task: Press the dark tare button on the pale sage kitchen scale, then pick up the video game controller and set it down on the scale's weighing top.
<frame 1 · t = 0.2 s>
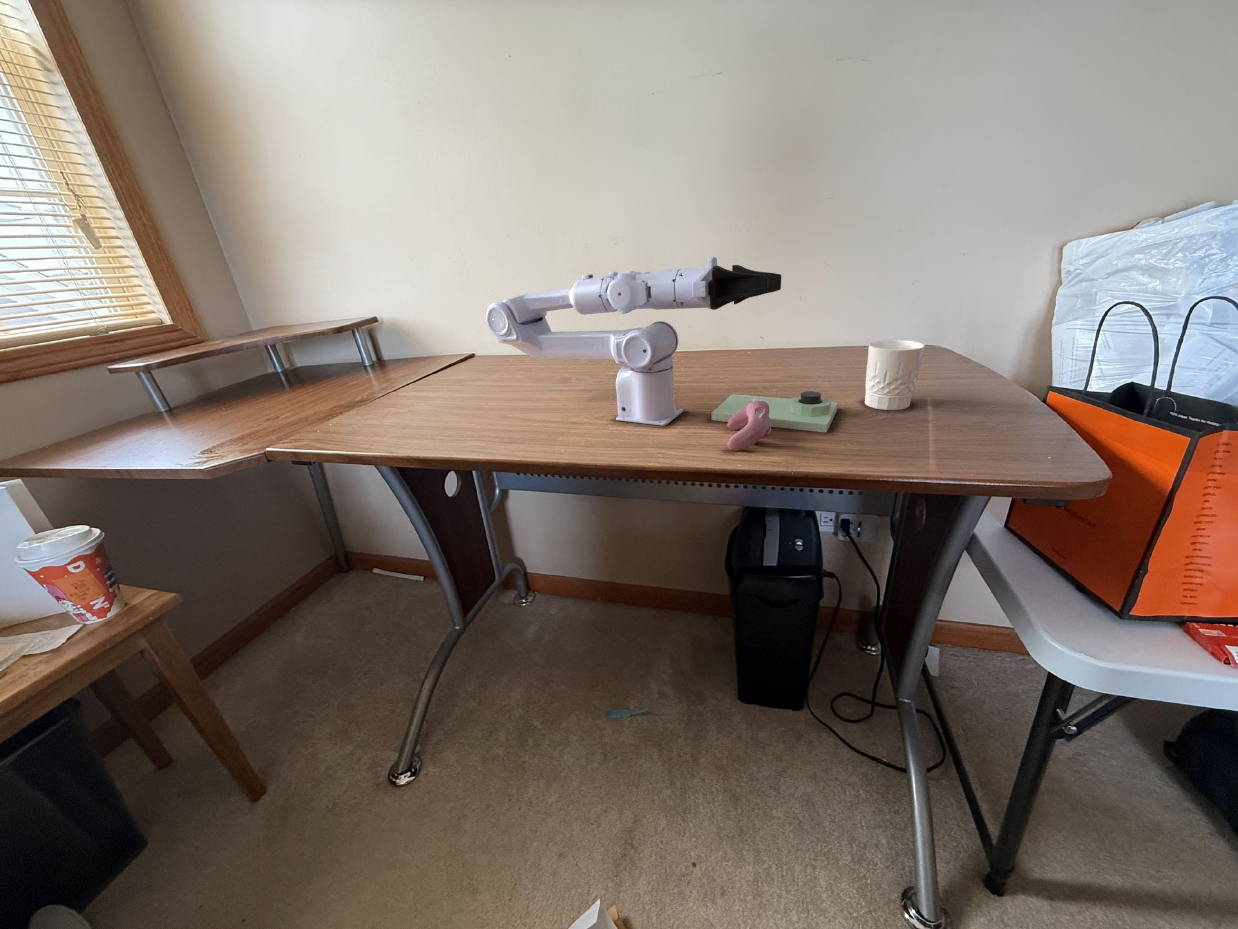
hand: (774, 283, 66), 21 cm above the table, tool horizontal, fingers open, 7 cm apart
scale: (774, 415, 80), on the table
tare button: (810, 398, 76), point 3 cm above the table, slide at 0.1 cm
white cup: (886, 405, 81), on the table
video game controller: (747, 441, 71), on the table
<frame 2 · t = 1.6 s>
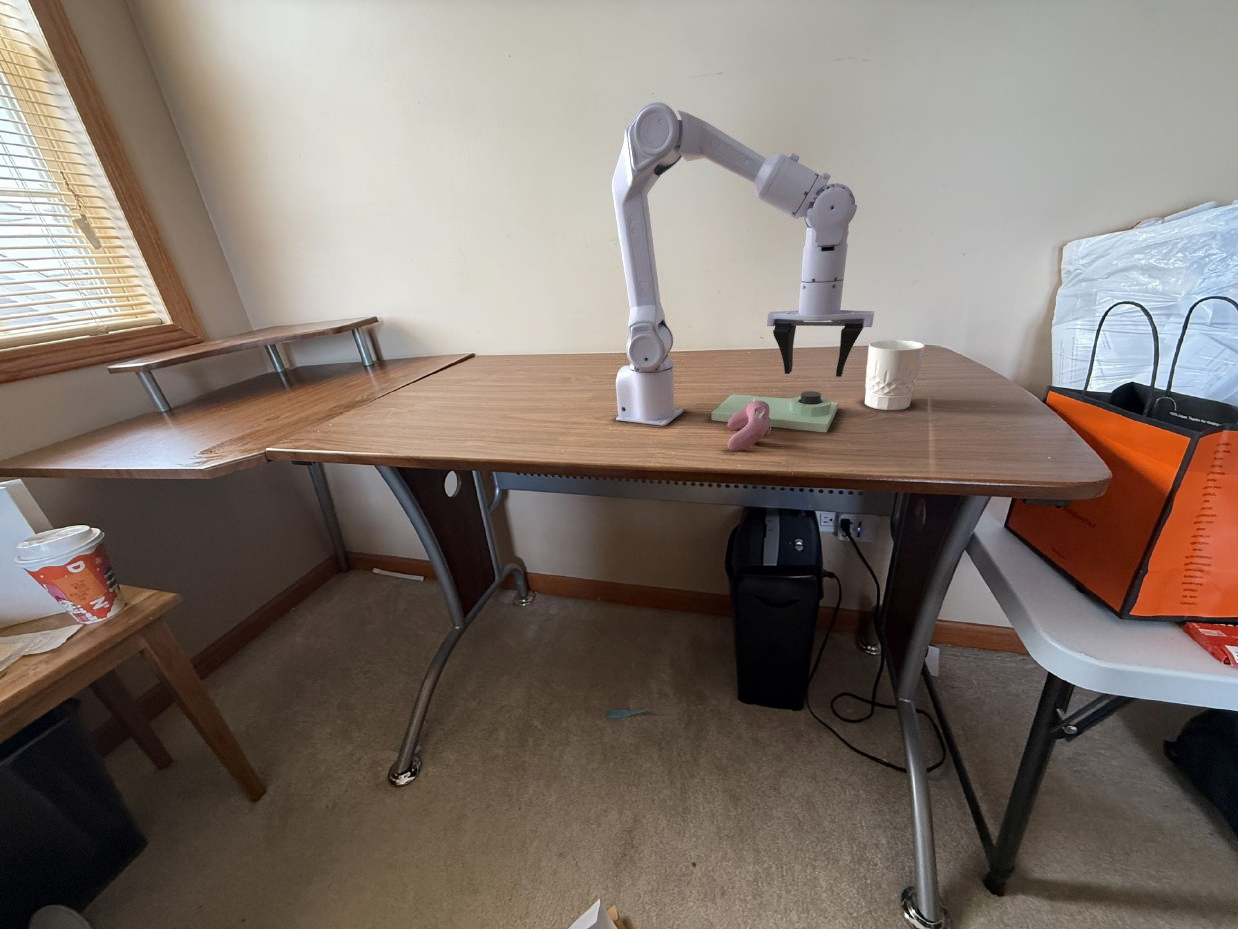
hand: (813, 373, 74), 7 cm above the table, tool pointing down, fingers open, 7 cm apart
nothing on the table moved.
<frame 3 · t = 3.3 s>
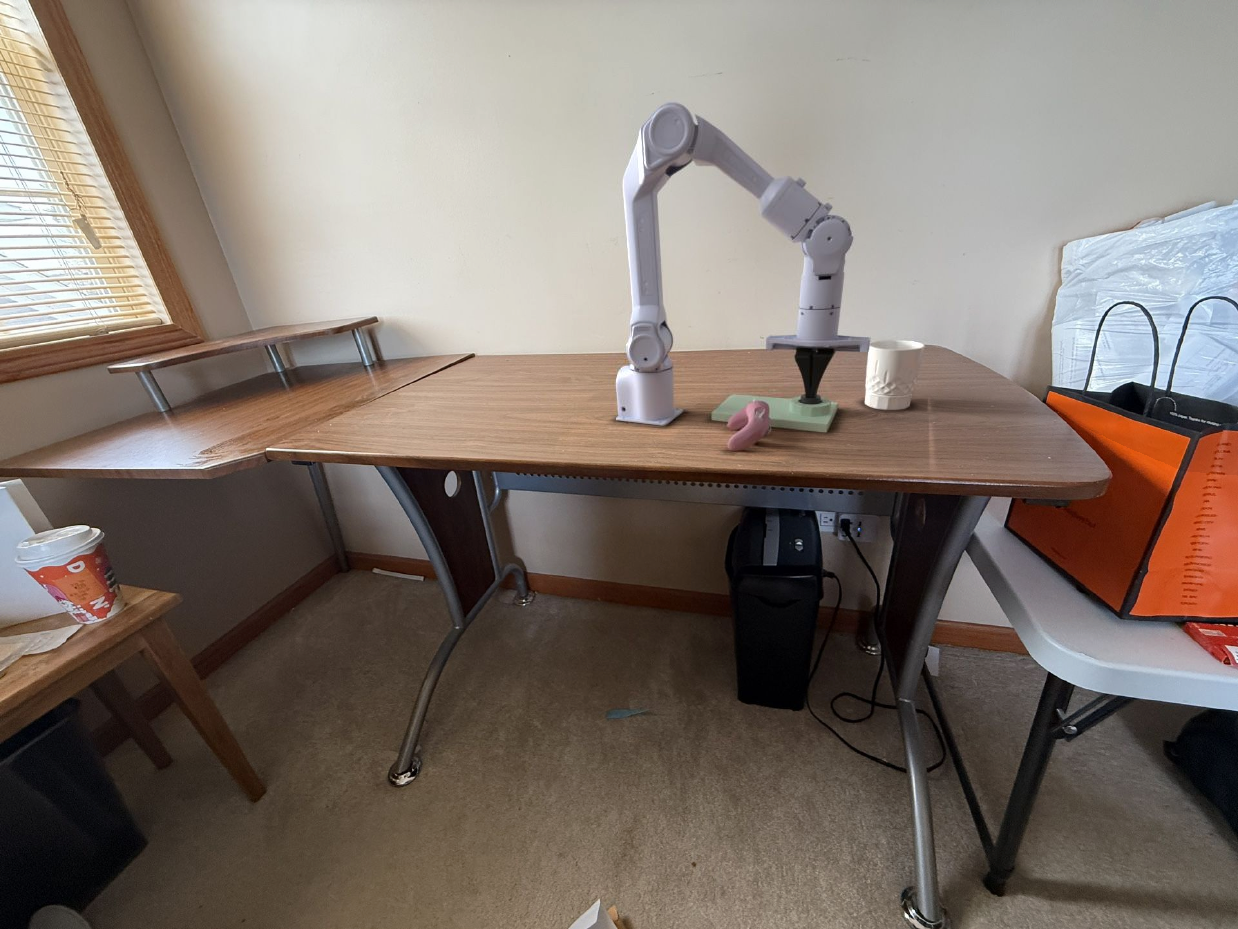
hand: (811, 396, 76), 4 cm above the table, tool pointing down, fingers closed, pressing on tare button
tare button: (810, 400, 76), point 3 cm above the table, slide at -0.3 cm, touching gripper
everything else where it was.
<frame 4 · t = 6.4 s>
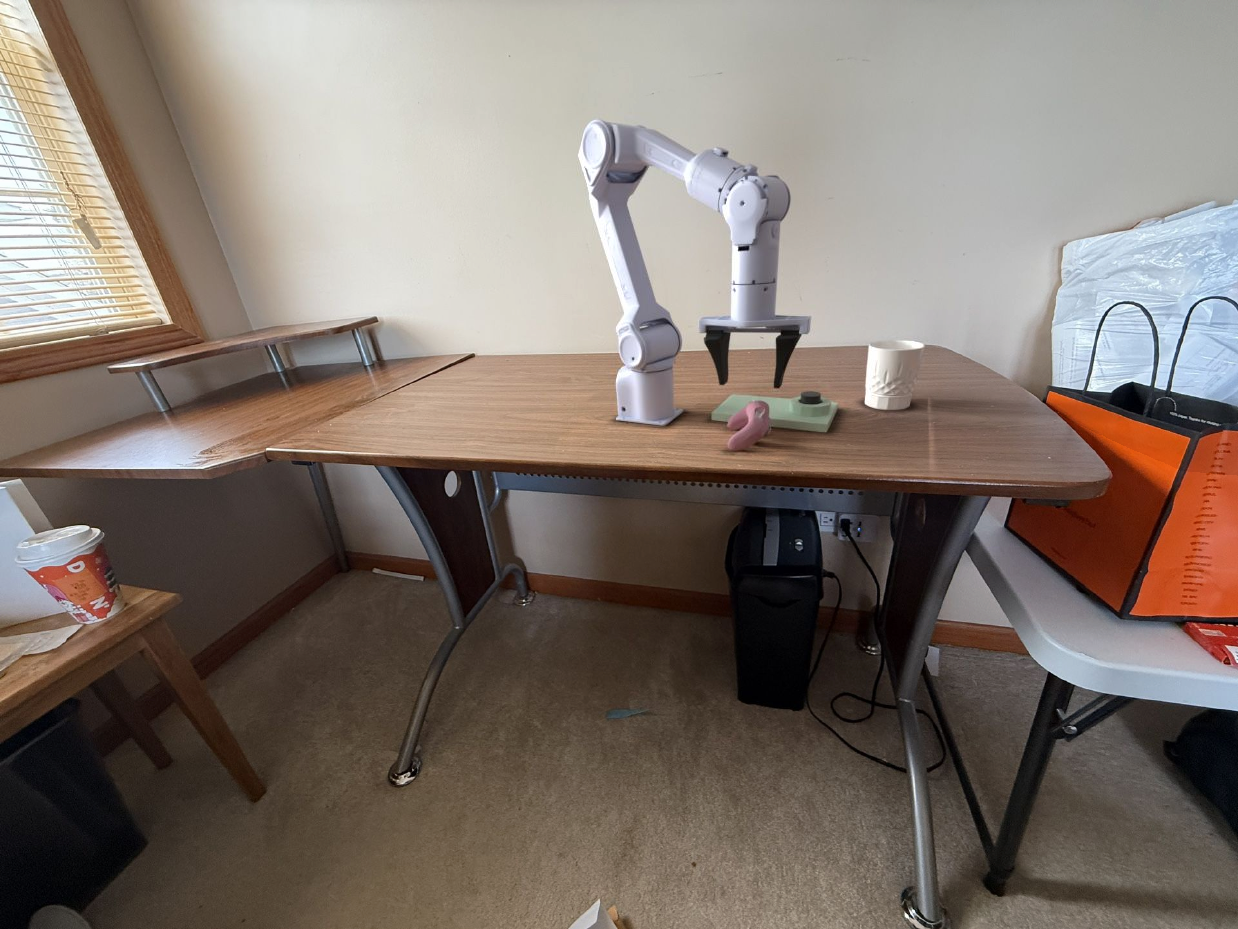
hand: (750, 384, 68), 8 cm above the table, tool pointing down, fingers open, 7 cm apart
tare button: (810, 398, 76), point 3 cm above the table, slide at 0.1 cm
everything else where it was.
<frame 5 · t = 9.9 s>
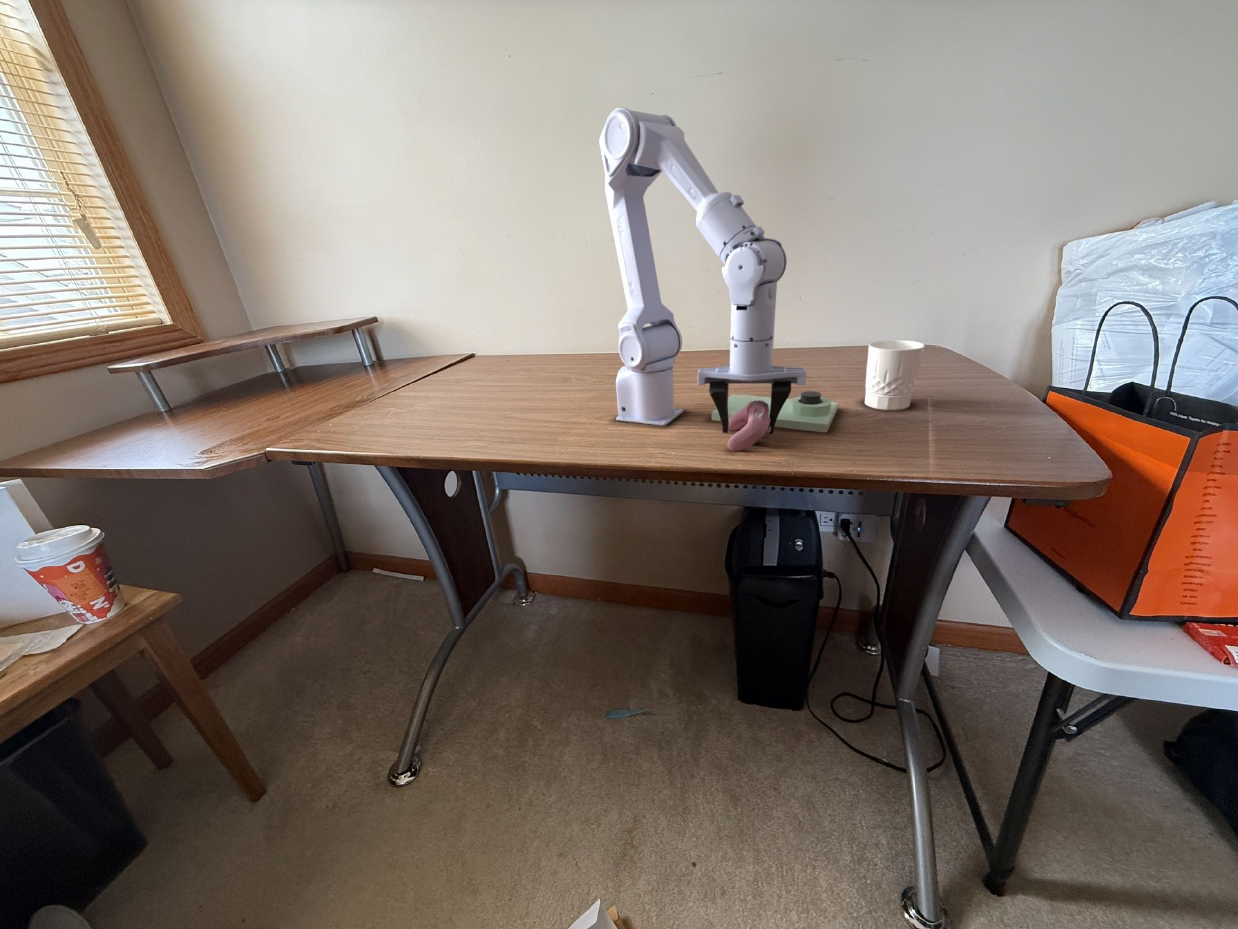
hand: (748, 431, 70), 1 cm above the table, tool pointing down, fingers closed on video game controller, 6 cm apart
video game controller: (747, 441, 71), on the table, touching gripper
everything else where it was.
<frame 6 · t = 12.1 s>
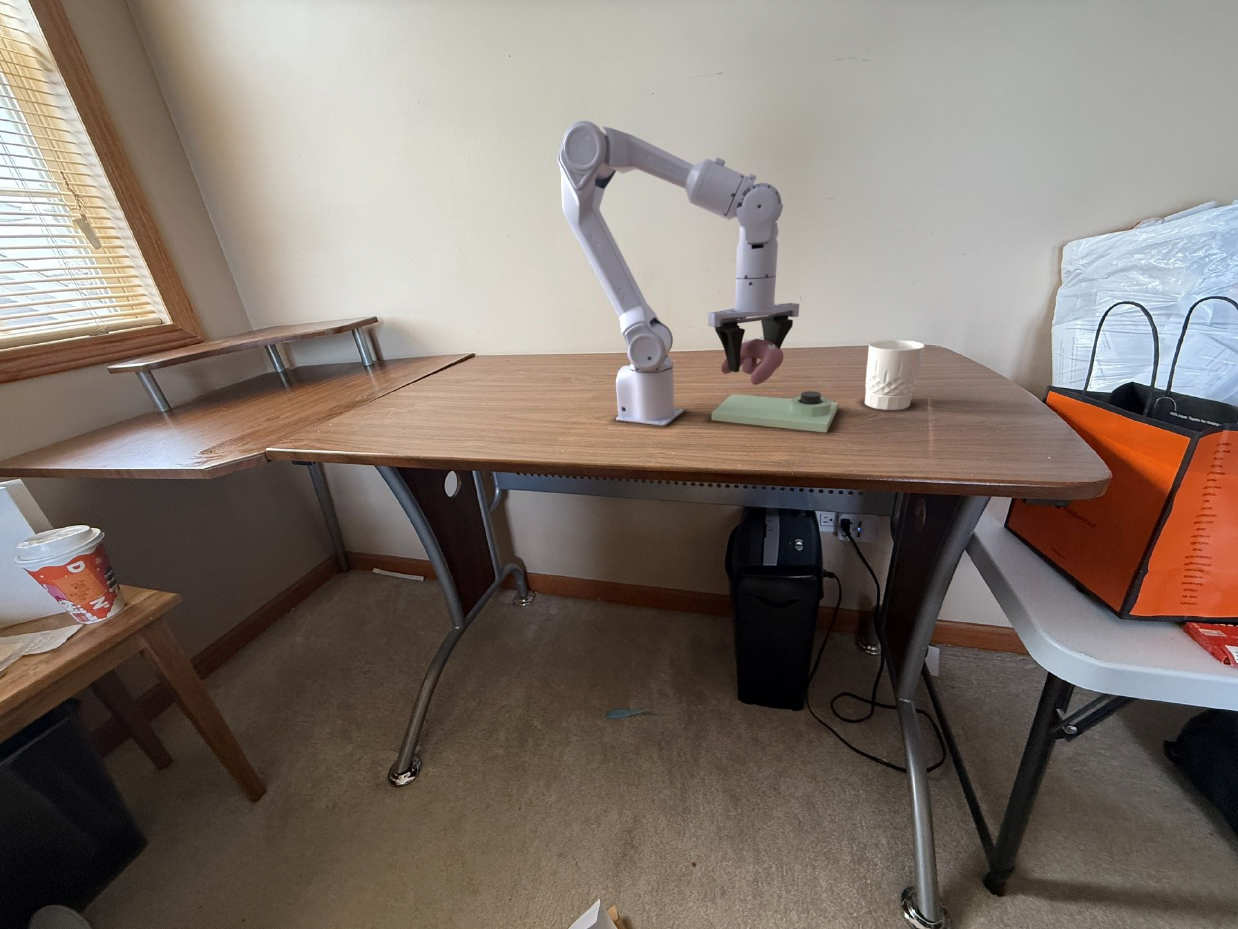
hand: (751, 368, 76), 8 cm above the table, tool pointing down, fingers closed on video game controller, 6 cm apart
video game controller: (751, 378, 77), point 7 cm above the table, touching gripper
everything else where it was.
when the fingers open (3 cm above the table, at t = 14.6 s): video game controller stays where it is, resting on scale.
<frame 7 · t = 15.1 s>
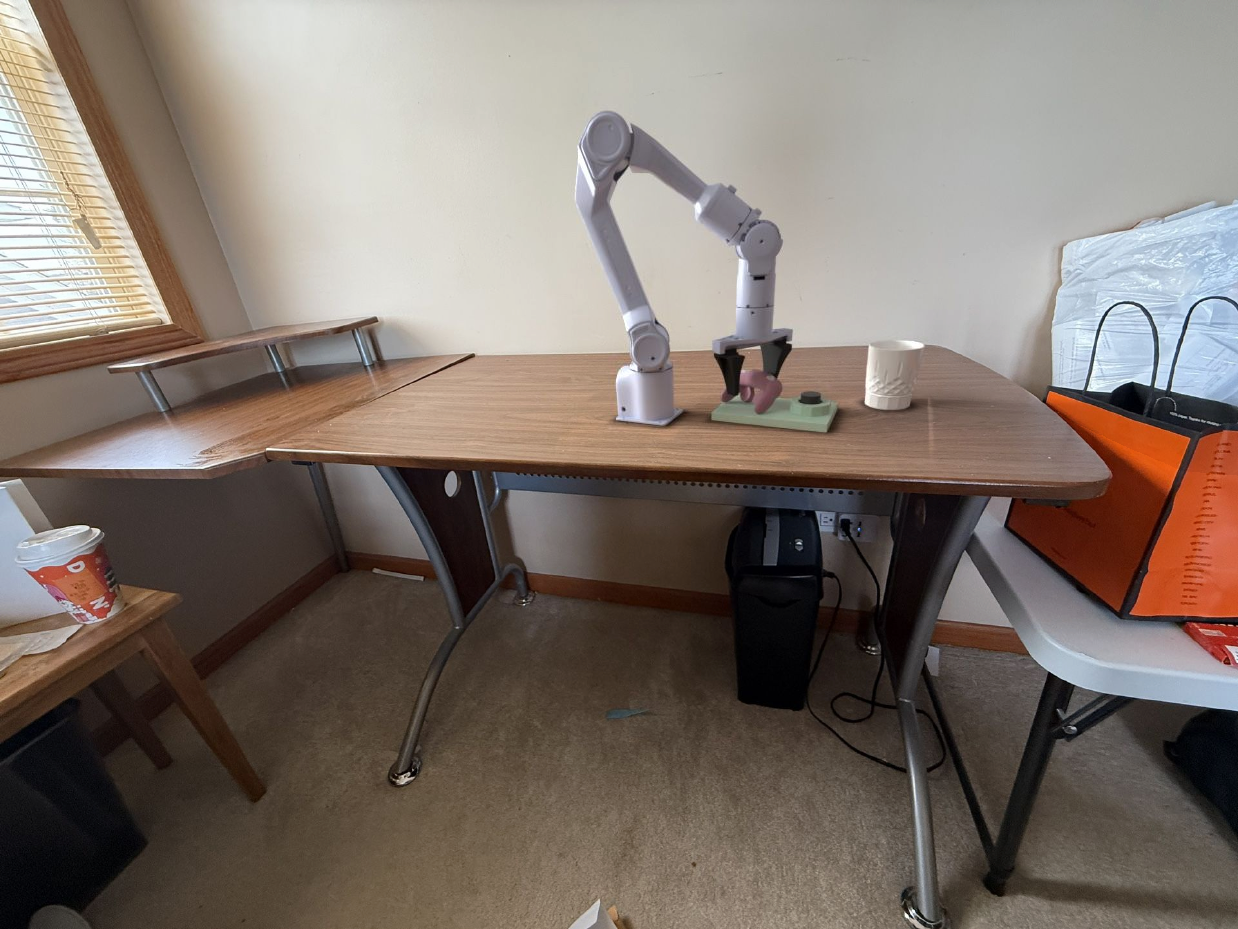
hand: (751, 390, 80), 4 cm above the table, tool pointing down, fingers open, 7 cm apart
video game controller: (750, 406, 81), point 1 cm above the table, touching scale
everything else where it was.
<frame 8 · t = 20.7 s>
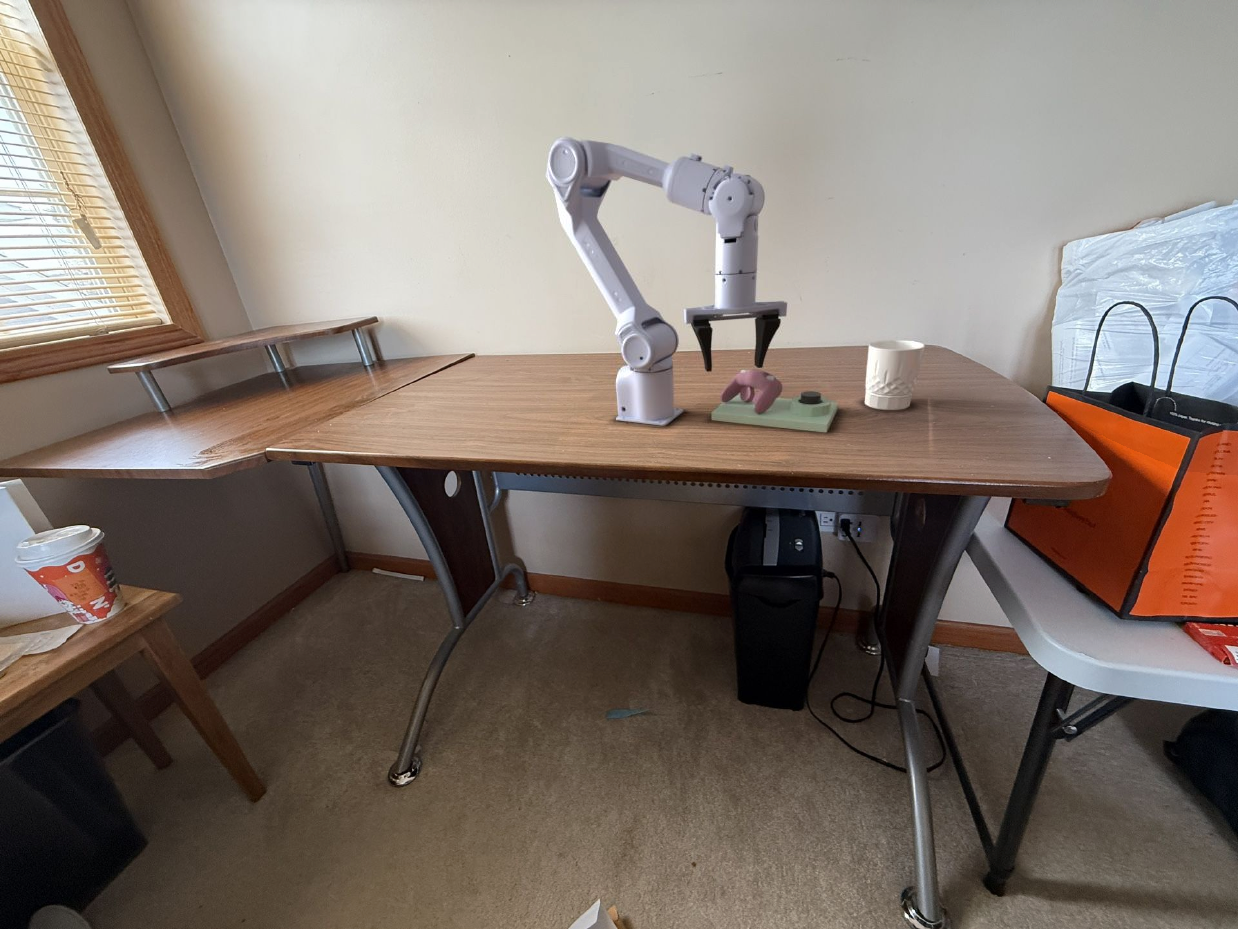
hand: (733, 368, 73), 9 cm above the table, tool pointing down, fingers open, 7 cm apart
nothing on the table moved.
at the end: tare button pushed in 1.0 cm at the most during the clip, back to where it started at the end; video game controller inside the target area on the scale (0.2 cm from its centre), point 1.2 cm above the scale's base; video game controller touching scale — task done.
